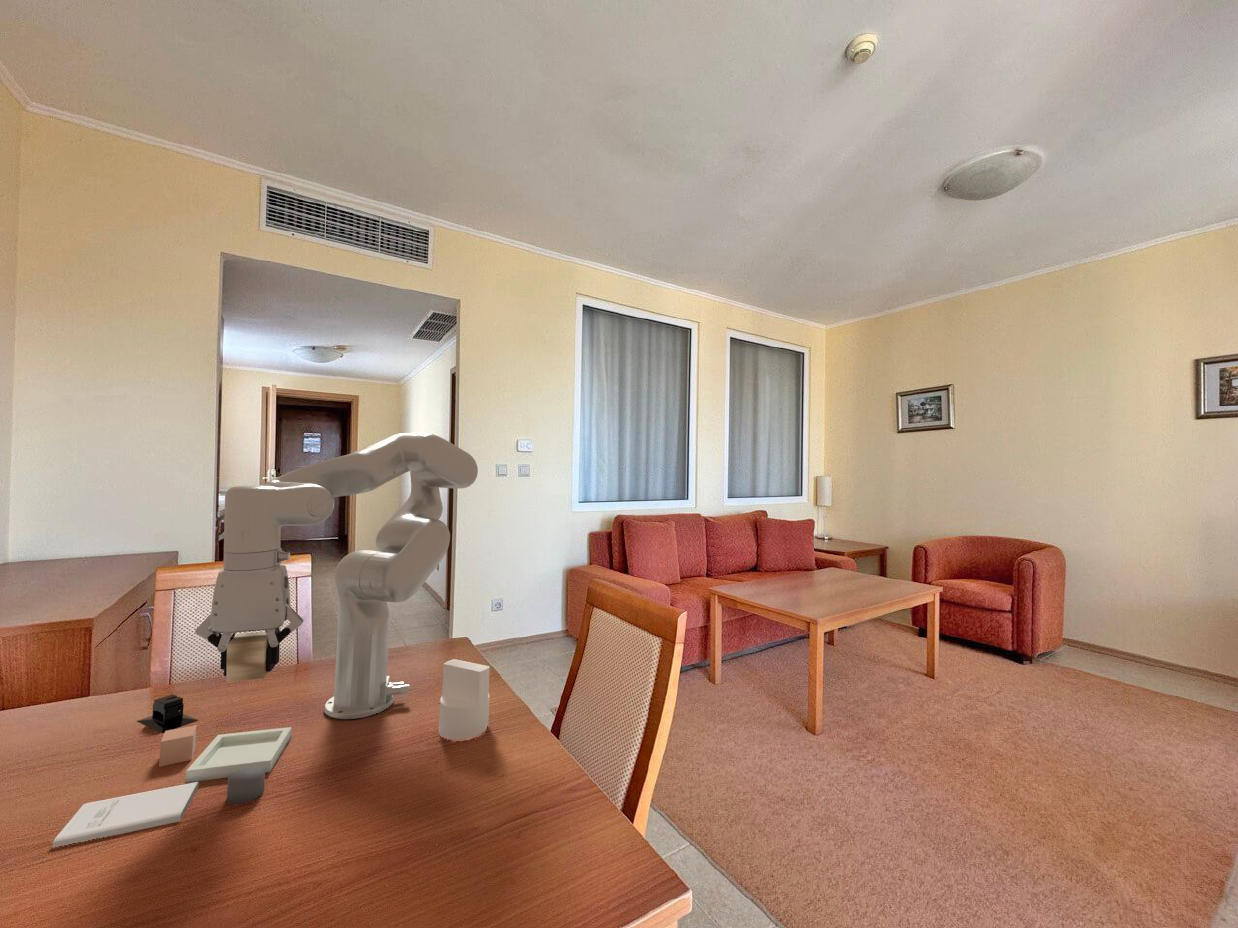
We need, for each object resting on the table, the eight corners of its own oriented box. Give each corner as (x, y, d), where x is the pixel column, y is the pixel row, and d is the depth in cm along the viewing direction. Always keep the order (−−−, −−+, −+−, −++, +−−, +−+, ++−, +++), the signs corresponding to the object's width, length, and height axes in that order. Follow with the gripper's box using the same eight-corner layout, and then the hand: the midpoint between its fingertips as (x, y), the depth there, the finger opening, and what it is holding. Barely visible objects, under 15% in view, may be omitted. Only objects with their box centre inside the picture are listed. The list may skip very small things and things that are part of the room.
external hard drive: (180, 825, 68) (51, 853, 62) (198, 791, 75) (84, 812, 70) (181, 813, 68) (52, 839, 62) (198, 779, 75) (85, 800, 70)
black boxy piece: (207, 723, 95) (209, 698, 95) (159, 740, 88) (161, 714, 88) (172, 708, 100) (173, 685, 100) (124, 724, 93) (125, 699, 94)
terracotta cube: (195, 748, 85) (196, 724, 86) (191, 760, 82) (193, 735, 82) (164, 755, 83) (165, 730, 83) (159, 767, 80) (160, 741, 80)
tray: (291, 737, 90) (291, 726, 90) (270, 771, 80) (271, 760, 80) (217, 745, 86) (218, 734, 86) (185, 782, 76) (186, 770, 76)
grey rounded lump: (268, 783, 77) (269, 763, 77) (257, 801, 72) (259, 780, 73) (233, 788, 75) (235, 768, 75) (221, 807, 71) (222, 785, 71)
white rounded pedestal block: (427, 734, 93) (430, 668, 93) (460, 714, 101) (463, 653, 101) (467, 745, 89) (470, 677, 90) (497, 723, 98) (500, 661, 98)
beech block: (272, 665, 86) (273, 630, 86) (263, 677, 81) (264, 640, 81) (237, 669, 84) (238, 633, 84) (226, 681, 79) (226, 644, 79)
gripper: (316, 554, 89) (314, 656, 89) (199, 558, 83) (197, 668, 83) (306, 562, 82) (304, 673, 82) (177, 567, 76) (175, 687, 76)
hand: (250, 669), depth 83 cm, fingers closed on beech block, 5 cm apart
